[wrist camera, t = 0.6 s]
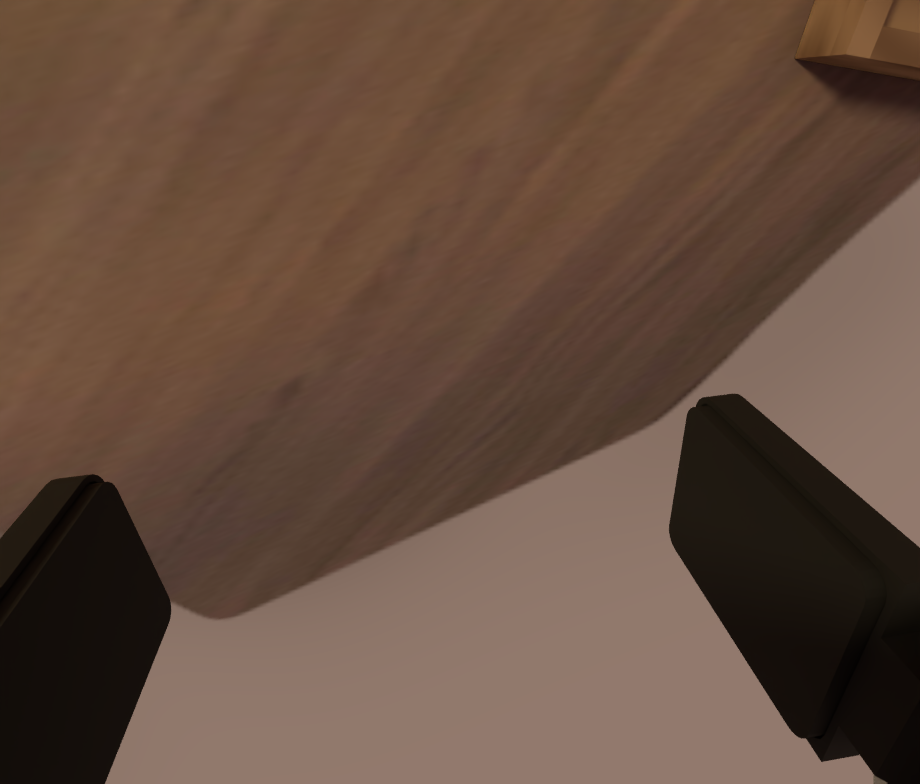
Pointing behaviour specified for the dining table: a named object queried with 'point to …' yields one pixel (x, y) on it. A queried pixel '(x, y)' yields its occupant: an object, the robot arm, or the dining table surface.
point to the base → (864, 36)
